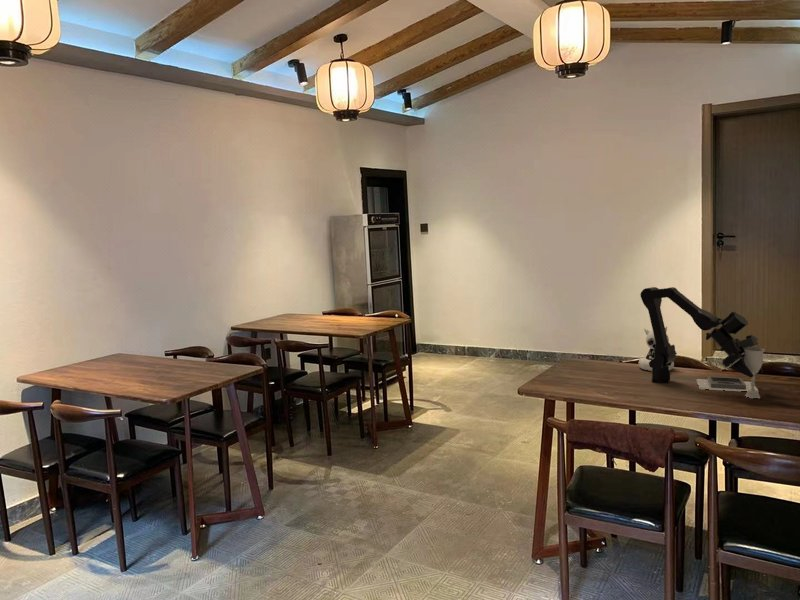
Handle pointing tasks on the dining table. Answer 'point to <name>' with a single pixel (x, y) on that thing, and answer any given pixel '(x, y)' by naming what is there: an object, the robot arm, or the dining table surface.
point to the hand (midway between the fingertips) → (757, 374)
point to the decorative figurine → (651, 351)
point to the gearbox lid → (724, 384)
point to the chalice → (753, 367)
